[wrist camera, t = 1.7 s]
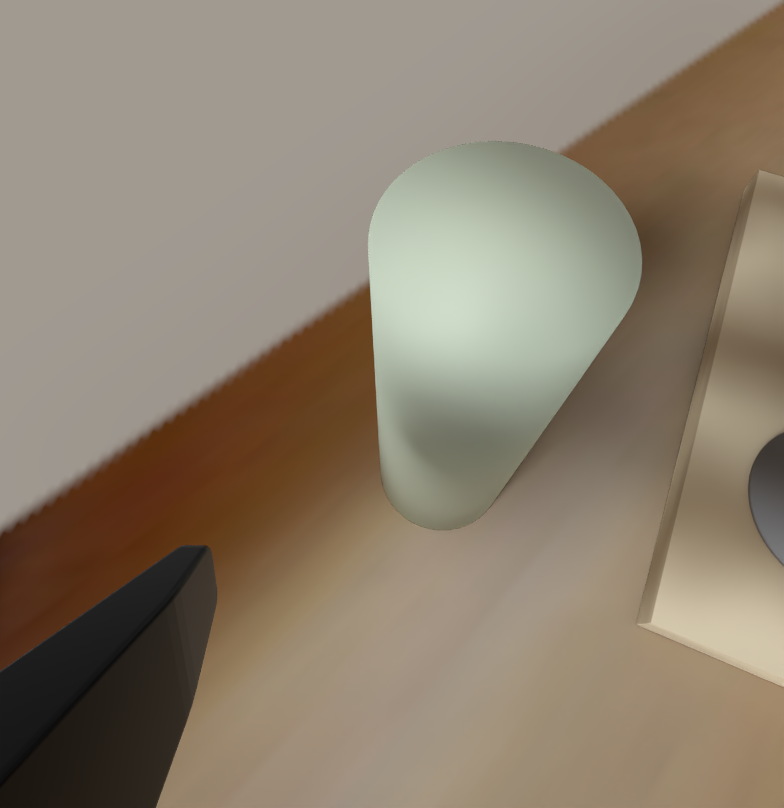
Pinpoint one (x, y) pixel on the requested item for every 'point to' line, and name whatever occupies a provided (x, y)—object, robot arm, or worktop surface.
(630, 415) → the worktop surface
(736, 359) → the board
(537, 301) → the sage pin
